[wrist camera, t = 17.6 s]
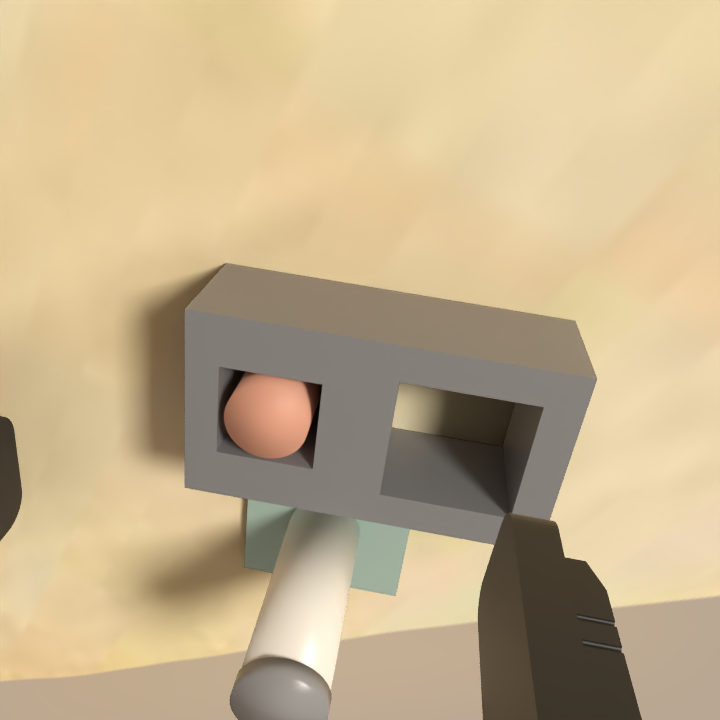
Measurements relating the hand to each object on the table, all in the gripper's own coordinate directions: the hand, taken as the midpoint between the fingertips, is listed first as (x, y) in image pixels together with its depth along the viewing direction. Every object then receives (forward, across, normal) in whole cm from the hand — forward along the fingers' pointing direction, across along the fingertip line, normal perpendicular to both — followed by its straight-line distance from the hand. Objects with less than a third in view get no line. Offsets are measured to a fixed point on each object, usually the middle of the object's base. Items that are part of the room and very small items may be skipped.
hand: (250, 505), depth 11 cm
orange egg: (+23, +3, +11) cm, 26 cm away
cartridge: (+23, 0, +22) cm, 31 cm away
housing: (+24, -2, +11) cm, 26 cm away
